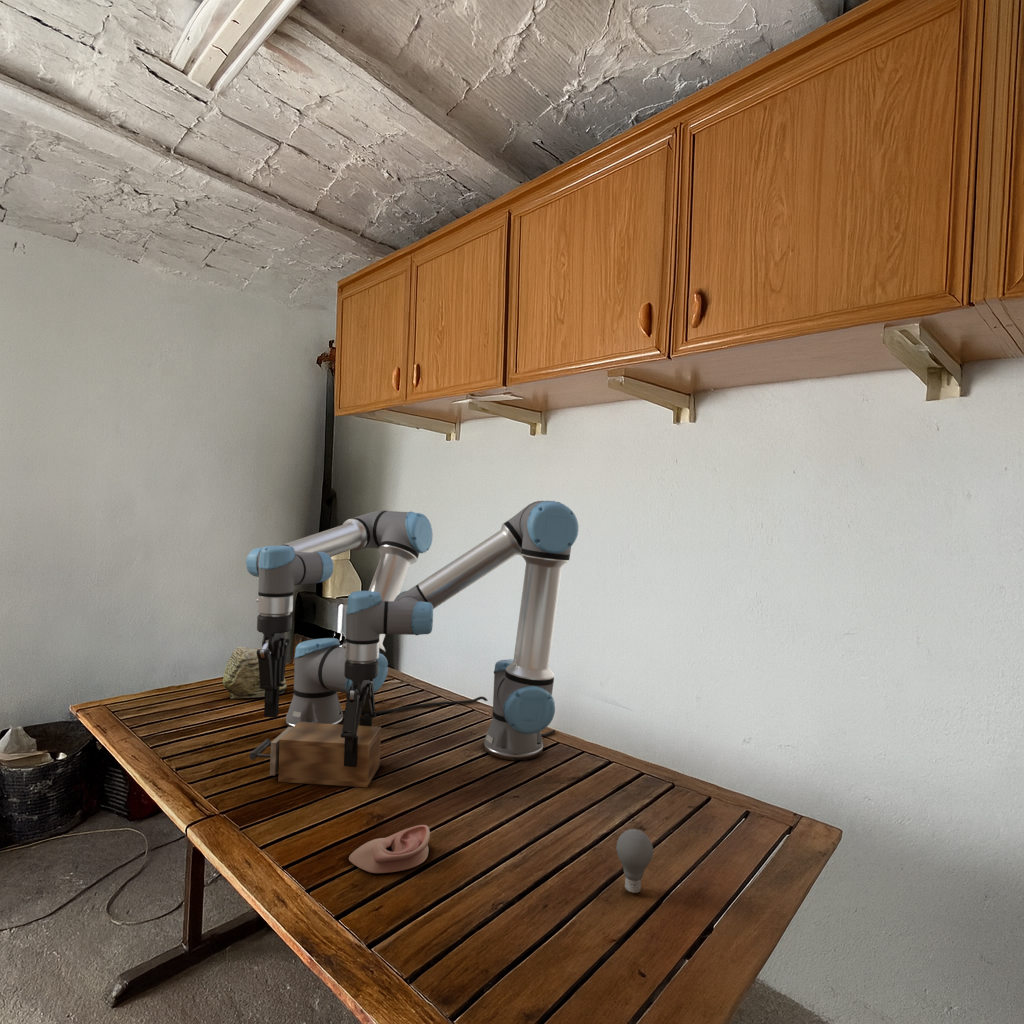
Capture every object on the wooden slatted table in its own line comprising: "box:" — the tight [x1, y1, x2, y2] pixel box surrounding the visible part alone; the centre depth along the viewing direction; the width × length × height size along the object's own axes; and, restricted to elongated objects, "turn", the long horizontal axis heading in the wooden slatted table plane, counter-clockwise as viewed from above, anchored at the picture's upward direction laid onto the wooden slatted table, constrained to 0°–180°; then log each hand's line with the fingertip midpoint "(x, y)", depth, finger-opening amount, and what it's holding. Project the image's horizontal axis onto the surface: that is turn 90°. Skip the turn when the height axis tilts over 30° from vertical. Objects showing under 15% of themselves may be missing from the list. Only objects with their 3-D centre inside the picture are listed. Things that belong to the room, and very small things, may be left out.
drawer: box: [248, 727, 293, 776], centre depth 145 cm, size 24×10×7 cm, turn 88°
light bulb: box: [615, 828, 654, 894], centre depth 106 cm, size 6×6×10 cm
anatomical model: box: [348, 824, 431, 874], centre depth 113 cm, size 13×4×12 cm
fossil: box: [222, 646, 288, 699], centre depth 198 cm, size 9×18×15 cm, turn 132°
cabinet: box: [277, 722, 382, 788], centre depth 145 cm, size 20×11×10 cm, turn 88°
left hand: (271, 716), depth 145 cm, fingers closed
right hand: (358, 755), depth 145 cm, fingers closed on cabinet, 11 cm apart
